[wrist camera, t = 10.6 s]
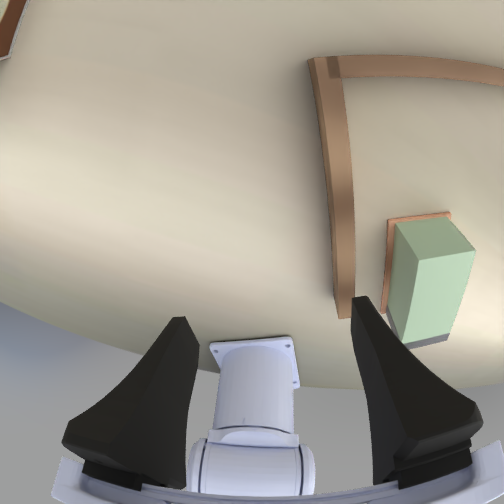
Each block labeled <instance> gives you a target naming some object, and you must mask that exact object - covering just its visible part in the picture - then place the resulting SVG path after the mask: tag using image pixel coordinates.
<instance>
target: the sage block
mask: <svg viewBox="0 0 504 504" xmlns="http://www.w3.org/2000/svg"><path fill="white" fill-rule="evenodd" d="M475 252H476V250H475V248H474V247H473V246H472V245H471V244H470V242H469V241H468V240H467V239H466V238H465V236H464V235H463V234H462V233H461V232H460V231H459V230H458V228H457V227H456V226H455V225H454V224H453V223H452V222H451V221H450V219H449V218H448V217H447V216H446V217H438V218H430V219H422V220H414V221H406V222H398V223H395V234H394V248H393V259H392V269H391V278H390V287H389V295H388V302H387V307H386V314H387V317H388V320H389V323H390V326H391V329H392V331H393V332H394V334H395V335H396V336H397V337H398V338H399V340H400V341H401V342H402V343H403V344H404V345H405V346H406V347H407V348H408V350H409V349H413V348H418V347H422V346H426V345H430V344H434V343H438V342H442V341H446V340H447V339H448V336H449V334H450V331H451V328H452V325H453V323H454V320H455V317H456V315H457V312H458V309H459V306H460V303H461V300H462V297H463V294H464V291H465V288H466V285H467V282H468V278H469V275H470V271H471V268H472V264H473V260H474V256H475Z"/></svg>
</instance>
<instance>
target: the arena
mask: <svg viewBox="0 0 504 504" xmlns="http://www.w3.org/2000/svg"><path fill="white" fill-rule="evenodd" d="M308 64H309V69H310V74H311V80H312V85H313V91H314V97H315V103H316V109H317V116H318V122H319V129H320V136H321V143H322V151H323V159H324V167H325V176H326V186H327V195H328V206H329V218H330V230H331V245H332V261H333V282H334V299H335V304H336V309H337V314H338V319H345V318H351V308H352V298H354V297H355V220H354V196H353V179H352V166H351V154H350V143H349V134H348V125H347V116H346V108H345V101H344V94H343V87H342V81H341V78H349V77H373V76H407V77H430V78H444V79H455V80H464V81H473V82H480V83H486V84H493V85H498V86H504V69H501V68H497V67H492V66H487V65H482V64H477V63H471V62H465V61H458V60H450V59H442V58H432V57H420V56H403V55H349V56H331V57H318V58H312V59H309V60H308ZM446 216H447V217H448V218H449V219H451V213H450V212H445V213H437V214H429V215H421V216H413V217H405V218H397V219H389V220H388V228H387V248H386V262H385V274H384V285H383V294H382V303H381V311H380V312H381V314H384V313H386V307H387V302H388V295H389V287H390V278H391V269H392V259H393V248H394V234H395V223H398V222H406V221H414V220H422V219H430V218H438V217H446Z"/></svg>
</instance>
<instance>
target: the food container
mask: <svg viewBox="0 0 504 504" xmlns="http://www.w3.org/2000/svg"><path fill="white" fill-rule="evenodd" d="M29 1H30V0H0V61H1V60H4V59H7V58H10V57H11V53H12V50H13V46H14V43H15V40H16V37H17V34H18V31H19V28H20V25H21V22H22V19H23V16H24V14H25V11H26V9H27V6H28V4H29Z"/></svg>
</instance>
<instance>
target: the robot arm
mask: <svg viewBox="0 0 504 504" xmlns="http://www.w3.org/2000/svg"><path fill="white" fill-rule="evenodd" d="M351 335H352V341H353V347H354V352H355V356H356V360H357V363H358V367H359V371H360V375H361V378H362V382H363V386H364V390H365V394H366V398H367V405H368V412H369V421H370V431H371V441H372V457H373V486H369V487H364V488H359V489H353V490H347V491H340V492H332V493H323V494H313V492H314V485H315V462H314V457H313V453H312V452H311V450H310V449H309V448H308V447H307V446H306V445H305V444H299V435H298V434H294V414H293V413H294V412H293V411H294V410H293V389H296V388H299V387H300V382H299V375H298V369H297V363H296V357H295V351H294V346H293V340H292V338H291V337H277V338H267V339H256V340H244V341H231V342H215V343H211V344H210V347H209V348H210V350H211V352H212V354H213V356H214V358H215V360H216V362H217V364H218V366H219V368H220V370H221V372H220V380H219V386H218V394H217V401H216V407H215V414H214V422H213V429H210V430H209V432H208V439H206V438H200V439H199V440H198V441H197V442H196V443H194V444H193V446H192V448H191V451H190V455H189V460H188V466H187V474H186V465H185V451H186V449H185V448H186V428H187V417H188V410H189V404H190V399H191V395H192V390H193V386H194V381H195V376H196V372H197V367H198V359H199V347H200V345H199V343H198V341H197V339H196V337H195V335H194V333H193V331H192V329H191V327H190V325H189V323H188V321H187V319H186V317H185V316H184V317H173V318H172V319H171V320H170V322H169V323H168V324H167V326H166V327H165V328H164V330H163V331H162V333H161V334H160V335H159V337H158V338H157V339H156V341H155V342H154V343H153V345H152V346H151V347H150V349H149V350H148V351H147V353H146V354H145V355H144V356H143V358H142V359H141V360H140V362H139V363H138V364H137V365H136V366H135V368H134V369H133V370H132V371H131V372H130V373H129V374H128V375H127V376H126V378H124V379H123V380H122V381H121V382H120V384H118V386H116V387H115V388H114V389H113V390H112V391H111V392H110V393H108V394H107V395H106V396H105V397H104V398H103V399H102V400H100V401H99V402H97V403H96V404H95V405H94V406H92V407H91V408H89V409H88V410H86V411H85V412H83V413H82V414H80V415H79V416H77V417H75V418H74V419H72V420H70V421H69V422H68V425H67V428H66V430H65V433H64V436H63V439H62V444H63V446H64V447H66V448H67V449H69V450H70V451H71V452H73V453H75V454H77V455H78V456H80V457H81V458H83V459H85V463H84V464H82V463H80V462H77V461H75V460H72V459H69V458H67V457H64V456H63V457H62V459H61V462H60V465H59V468H58V472H57V475H56V479H55V482H54V486H53V489H52V493H51V496H52V497H53V498H55V499H57V500H59V501H61V502H63V503H65V504H171V503H173V504H364V503H367V504H486V503H488V502H490V501H492V500H494V499H496V498H497V497H499V496H501V495H503V494H504V454H503V450H502V447H501V443H500V440H497V441H495V442H493V443H491V444H489V445H487V446H484V447H482V448H480V449H478V450H476V451H474V452H472V453H470V449H469V448H470V447H471V445H472V444H471V440H470V438H471V437H472V436H473V435H474V434H475V433H476V432H477V431H478V430H479V429H480V428H481V427H482V425H483V419H482V416H481V413H480V411H479V409H478V407H477V405H476V403H475V402H474V401H472V400H470V399H469V398H467V397H465V396H464V395H462V394H461V393H459V392H458V391H456V390H455V389H453V388H452V387H451V386H449V385H448V384H446V383H445V382H444V381H443V380H441V379H440V378H439V377H438V376H436V375H435V374H434V373H433V372H431V371H430V370H429V369H428V368H427V367H426V366H425V365H424V364H422V363H421V362H420V361H419V360H418V359H417V358H416V357H415V356H414V355H413V354H412V353H411V352H410V351H409V350H408V348H407V347H406V346H405V345H404V344H403V343H402V342H401V341H400V340H399V338H398V337H397V336H396V335H395V334H394V332H393V331H392V330H391V329H390V327H389V326H388V325H387V324H386V322H385V321H384V320H383V318H382V317H381V315H380V314H379V313H378V311H377V310H376V308H375V307H374V306H373V304H372V302H371V301H370V299H369V298H368V297H367V296H360V297H354V298H352V308H351ZM164 487H166V488H164ZM185 487H186V490H187V491H182V490H181V489H183V488H185ZM169 488H173V489H169ZM175 489H178V490H175ZM179 489H180V490H179Z"/></svg>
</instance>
